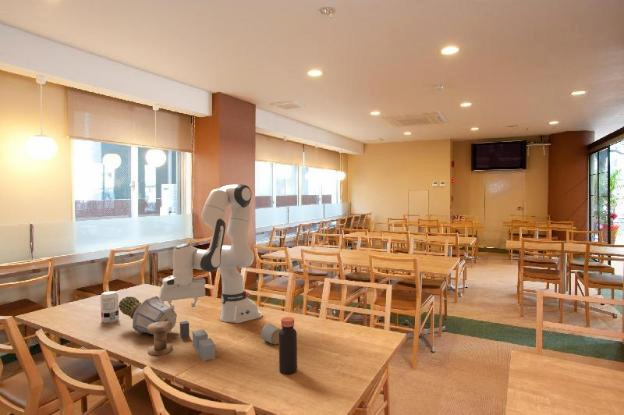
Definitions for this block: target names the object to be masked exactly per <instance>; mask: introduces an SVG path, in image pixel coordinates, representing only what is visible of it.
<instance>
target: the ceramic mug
mask: <svg viewBox="0 0 624 415" xmlns="http://www.w3.org/2000/svg"><path fill="white" fill-rule="evenodd" d="M281 329H282V328H280V327H278V326H276V325H275V324H273V323H267V324H265V325H264V326H263V327H262V329H261V332H260V336H261V339H262V340H264V341H265V342H267V343H270V344H271V345H279V332H280V330H281Z"/></svg>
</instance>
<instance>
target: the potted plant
mask: <svg viewBox="0 0 624 415" xmlns="http://www.w3.org/2000/svg"><path fill="white" fill-rule="evenodd" d="M118 305H119V311H120V312H121V313H122V315H126V316H127V317H129V318H130V320H132V324H131V325H132V329H133V330H134V331H135V332H137V334H144V333H147V334H150V335H153V336H154V332H150V331H148V330H147V326H148V325H150V324H152V323H155V322H161V321H167V322H171V323H172V328H170V329H169V330H166V336H167V335H168V334H169V333H170V332H172V329H173V328H174V327H175V326H176V324H177V317H178V313H176V312H175V309H174V310H171V309H170V307H169V306H168V305H166V304H165V301H161V300H160V296H157V295H156V296H152V297H149V298H147V299H144V300H143V302H140V300H139V299H137V297H134V296H125V297H124V298H122V299H120V300H119V301H118Z"/></svg>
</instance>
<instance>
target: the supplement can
mask: <svg viewBox="0 0 624 415" xmlns="http://www.w3.org/2000/svg"><path fill="white" fill-rule="evenodd" d="M119 312H120V308H119V293H118V292H117V291H116V290H109V291H104V292H102V293H101V295H100V318H101V322H102V323H103V324H111V323H115V322H117V321H118V320H119V318H120V313H119Z"/></svg>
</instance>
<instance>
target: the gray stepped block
mask: <svg viewBox="0 0 624 415" xmlns="http://www.w3.org/2000/svg"><path fill="white" fill-rule="evenodd" d="M192 346H193V348H195V350H196V352H197V354H198V356H199V357H200V359H201V360H202V362H206V361H210V360H215V359H216V344H215V342H214V341H213V339H212V338H211V337H210V338H209V334H208V333H207V331H206V330H205V329H204V328H203V329H198V330H193V331H192Z"/></svg>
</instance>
